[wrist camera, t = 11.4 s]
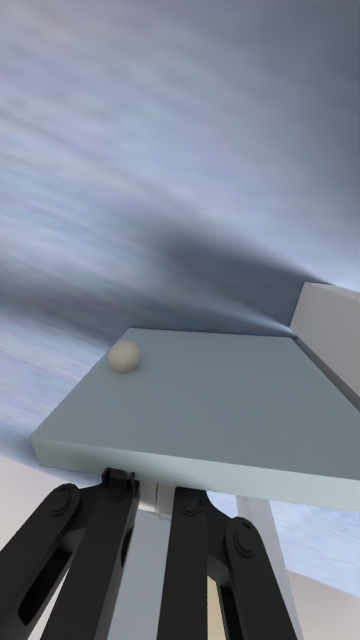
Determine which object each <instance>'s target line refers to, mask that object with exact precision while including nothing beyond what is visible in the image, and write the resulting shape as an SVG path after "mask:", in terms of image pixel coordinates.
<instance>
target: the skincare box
mask: <svg viewBox="0 0 360 640" xmlns="http://www.w3.org/2000/svg"><path fill="white" fill-rule="evenodd" d="M156 506H157V503H156ZM138 508H139V505H138ZM171 517H172V516H171V515H166V514H161V513H156V509H155V512H151V511H146V510H141V509H137V513H136V517H135V526H134V531H133V535H132V540H131V544H130V548H129V552H128V556H127V560H126V564H125V568H124V573H123V577H122V581H121V585H120V589H119V593H118V597H117V601H116V605H115V610H114V614H113V618H112V622H111V626H110V630H109V634H108V638H107V640H156V637H157V629H158V621H159V613H160V605H161V597H162V590H163V582H164V574H165V566H166V558H167V550H168V541H169V534H170V526H171Z"/></svg>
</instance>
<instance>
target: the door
mask: <svg viewBox="0 0 360 640" xmlns="http://www.w3.org/2000/svg"><path fill="white" fill-rule="evenodd" d="M29 439H30V442H31V444H32V447H33V449H34V452H35V455H36V457H37V460H38V462H39V465H40V466H44V467H50V468H57V469H64V470H71V471H78V472H84V473H91V474H98V475H102V473H103V472H104V470H105V469H106V468H107V467H109V468H114V469H120V470H124V471H125V472H126V474H127V479H131V472H135V480H139V481H146V482H152V483H159V484H166V485H173V486H180V487H186V488H193V489H200V490H207V491H214V492H220V493H227V494H234V495H241V496H248V497H254V498H261V499H268V500H275V501H282V502H288V503H295V504H302V505H309V506H316V507H322V508H329V509H336V510H343V511H350V512H356V513H360V397H359V396H358V395H357V394H356V393H355V392H354V391H353V390H352V389H351V388H350V387H349V386H348V385H347V384H346V383H345V382H344V381H343V380H342V379H341V378H340V377H339V376H338V375H337V374H336V373H335V372H334V371H333V370H332V369H331V368H330V367H329V366H328V365H327V364H326V363H325V362H324V361H322V360H321V359H320V358H319V357H318V356H317V355H316V354H315V353H314V352H313V351H312V350H311V349H310V348H309V347H308V346H307V345H306V344H305V343H304V342H303V341H302V340H301V339H300V338H298V339H295V340H292V339H291V338H288V337H271V336H254V335H238V334H221V333H204V332H188V331H171V330H154V329H137V328H128V329H127V331H126V332H125V333H124V334H123V335H122V336H121V337H120V338H119V339H118V340H117V341H116V343H115V344H114V345H113V346H112V347H111V348H110V349H109V350H108V351H107V352H106V354H105V355H104V356H103V357H102V358H101V359H100V360H99V361H98V362H97V363H96V364H95V366H94V367H93V368H92V369H91V370H90V371H89V372H88V373H87V374H86V375H85V376H84V378H83V379H82V380H81V381H80V382H79V383H78V384H77V385H76V386H75V387H74V389H73V390H72V391H71V392H70V393H69V394H68V395H67V396H66V397H65V398H64V399H63V401H62V402H61V403H60V404H59V405H58V406H57V407H56V408H55V409H54V410H53V411H52V413H51V414H50V415H49V416H48V417H47V418H46V419H45V420H44V421H43V422H42V424H41V425H40V426H39V427H38V428H37V429H36V430H35V431H34V432H33V433H32V434H31V436H30V437H29Z"/></svg>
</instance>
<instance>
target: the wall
mask: <svg viewBox="0 0 360 640" xmlns="http://www.w3.org/2000/svg"><path fill="white" fill-rule="evenodd" d="M290 329H291V330H292V331H293V332H294V333H295V334H296V335H297V336H298V337H299V338H300V339H301V340H302V341H303V342H304V343H305V344H306V345H307V346H308V347H309V348H310V349H311V350H312V351H313V352H314V353H315V354H316V355H317V356H318V357H319V358H320V359H321V360H322V361H324V362H325V363H326V364H327V365H328V366H329V367H330V368H331V369H332V370H333V371H334V372H335V373H336V374H337V375H338V376H339V377H340V378H341V379H342V380H343V381H344V382H345V383H346V384H347V385H348V386H349V387H350V388H351V389H352V390H353V391H354V392H355V393H356V394H357V395H358V396H359V397H360V293H358V292H355V291H352V290H349V289H345V288H342V287H339V286H336V285H329V284H319V283H309V282H304V285H303V288H302V291H301V294H300V297H299V300H298V303H297V306H296V309H295V312H294V315H293V318H292V322H291V325H290ZM236 500H237V508H238V516H239V517H244V518H246V519H247V520H249V521H250V522H251V523H252V524H253V525H254V526H255V527H256V528H257V530H258V532H259V534H260V536H261V538H262V540H263V543H264V546H265V549H266V552H267V554H268V557H269V560H270V563H271V566H272V569H273V571H274V574H275V577H276V580H277V583H278V585H279V588H280V591H281V594H282V597H283V599H284V602H285V605H286V608H287V611H288V614H289V616H290V619H291V622H292V625H293V628H294V630H295V633H296V636H297V639H298V640H304V639H303V635H302V631H301V627H300V623H299V619H298V615H297V611H296V607H295V603H294V599H293V595H292V591H291V587H290V583H289V579H288V575H287V571H286V567H285V563H284V559H283V555H282V551H281V547H280V543H279V539H278V535H277V532H276V528H275V524H274V520H273V516H272V512H271V508H270V504H269V500H268V499H261V498H254V497H248V496H241V495H236Z"/></svg>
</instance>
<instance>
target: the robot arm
mask: <svg viewBox="0 0 360 640" xmlns="http://www.w3.org/2000/svg"><path fill="white" fill-rule="evenodd" d="M101 476H102V483H100V484H99V485H95V486H92V487H87V488H82V489H79V488H78V487H77V486H76V485H75V484H71V483H67V484H63V485H60V486H59V487H57V488H55V489H54V490H53V491H52V492H51V493H50V494H49V495H48V496H47V497H46V498H45V499H44V501H43V502H42V503H41V504H40V505H39V506H38V508H37V509H36V510H35V511H34V512H33V513H32V515H31V516H30V517H29V518H28V519H27V520H26V522H25V523H24V524H23V525H22V526H21V528H20V529H19V530H18V531H17V532H16V534H15V535H14V536H13V537H12V538H11V540H10V541H9V542H8V543H7V544H6V546H5V547H4V548H3V549H2V550H1V551H0V640H27V639H28V637H29V636H30V634H31V632H32V631H33V629H34V627H35V625H36V624H37V622H38V620H39V619H40V617H41V615H42V613H43V612H44V610H45V608H46V607H47V605H48V603H49V601H50V600H51V598H52V596H53V595H54V593H55V591H56V589H57V588H58V586H59V584H60V583H61V581H62V579H63V577H64V576H65V574H66V572H67V571H68V569H69V571H68V573H67V576H66V578H65V580H64V583H63V585H62V588H61V590H60V592H59V595H58V597H57V600H56V602H55V605H54V607H53V609H52V612H51V614H50V617H49V619H48V621H47V624H46V627H45V629H44V631H43V633H42V636H41V638H40V640H107V638H108V634H109V630H110V626H111V622H112V618H113V614H114V610H115V605H116V601H117V597H118V593H119V589H120V585H121V581H122V577H123V573H124V568H125V564H126V560H127V556H128V552H129V548H130V544H131V540H132V535H133V531H134V526H135V517H136V513H137V509H141V510H146V511H151V512H155V509H156V513H161V514H166V515H171V516H172V517H171V526H170V534H169V541H168V550H167V558H166V566H165V574H164V582H163V590H162V597H161V605H160V613H159V621H158V629H157V637H156V640H208V632H207V629H208V627H207V575H208V576H209V577H210V578H211V579H212V580H214V581H215V582H216V586H217V591H218V597H219V603H220V609H221V614H222V620H223V626H224V631H225V637H226V640H298V639H297V636H296V633H295V630H294V628H293V625H292V622H291V619H290V616H289V614H288V611H287V608H286V605H285V602H284V599H283V597H282V594H281V591H280V588H279V585H278V583H277V580H276V577H275V574H274V571H273V569H272V566H271V563H270V560H269V557H268V554H267V552H266V549H265V546H264V543H263V540H262V538H261V536H260V534H259V532H258V530H257V528H256V527H255V526H254V525H253V524H252V523H251V522H250V521H249V520H247V519H246V518H244V517H235V518H232V519H231V518H230V517H228V516H227V515H225V514H224V513H222V512H221V511H219V510H218V509H217V508H215V507H214V506H213V504H212V503H211V502H210V500H209V498H208V496H207V493H206V490H200V489H193V488H186V487H180V486H173V485H166V484H159V483H152V482H146V481H139V480H135V472H131V479H127V474H126V472H125V471H124V470H120V469H114V468H109V467H107V468H106V469H105V470H104V472H103V473H102V475H101ZM156 503H157V506H156ZM138 505H139V508H138ZM70 565H71V566H70ZM69 567H70V568H69Z"/></svg>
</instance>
